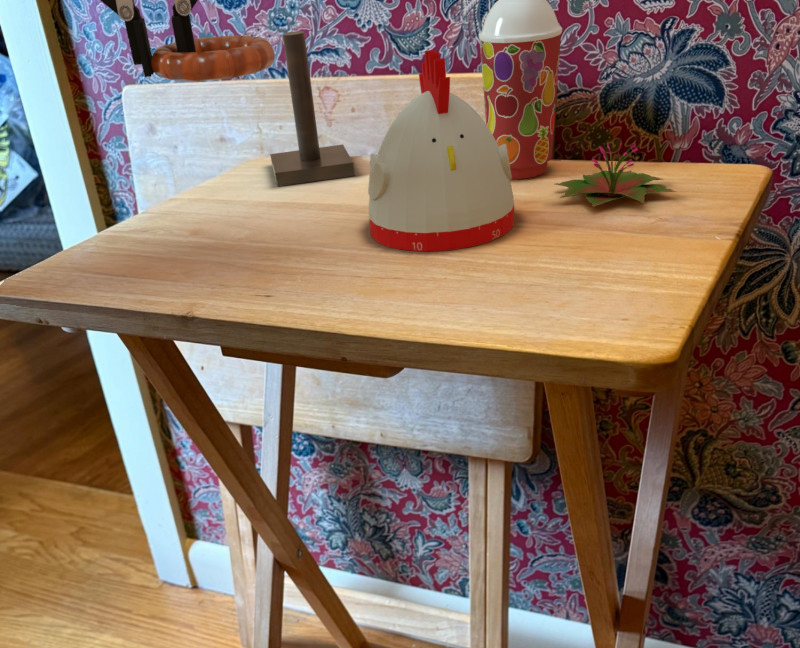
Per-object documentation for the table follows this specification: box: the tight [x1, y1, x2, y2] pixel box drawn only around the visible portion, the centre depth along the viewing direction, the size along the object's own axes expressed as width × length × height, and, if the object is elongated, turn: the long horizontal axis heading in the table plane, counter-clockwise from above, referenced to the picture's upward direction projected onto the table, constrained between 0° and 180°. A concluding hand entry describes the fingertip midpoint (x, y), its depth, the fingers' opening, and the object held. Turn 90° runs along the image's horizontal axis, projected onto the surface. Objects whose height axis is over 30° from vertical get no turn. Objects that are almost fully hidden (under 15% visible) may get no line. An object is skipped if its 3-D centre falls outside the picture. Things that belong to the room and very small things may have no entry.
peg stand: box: [269, 30, 356, 187], centre depth 101 cm, size 9×9×14 cm
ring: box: [151, 35, 275, 82], centre depth 73 cm, size 10×10×2 cm
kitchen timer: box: [367, 49, 515, 252], centre depth 81 cm, size 14×14×15 cm
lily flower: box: [555, 141, 678, 208], centre depth 88 cm, size 12×12×5 cm
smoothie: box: [477, 0, 563, 180], centre depth 92 cm, size 8×8×20 cm
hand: (167, 70), depth 73 cm, fingers closed on ring, 2 cm apart
